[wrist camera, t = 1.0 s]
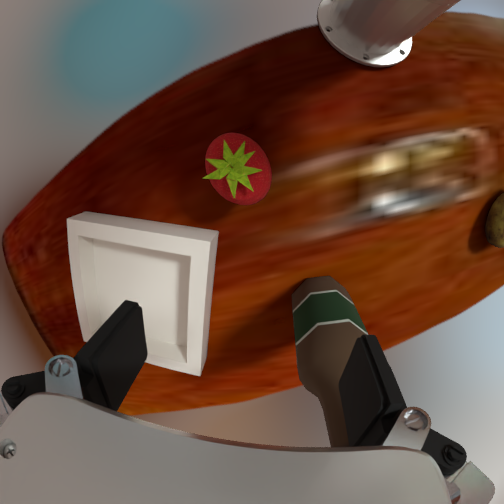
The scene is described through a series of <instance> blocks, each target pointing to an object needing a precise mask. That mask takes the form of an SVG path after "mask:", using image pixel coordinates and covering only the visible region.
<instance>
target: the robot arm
mask: <svg viewBox="0 0 504 504" xmlns="http://www.w3.org/2000/svg"><path fill="white" fill-rule="evenodd" d="M459 1H460V0H322V1H321V3H320V4H319V8H318V12H317V21H318V25H319V28H320V30H321V32H322V34H323V35H324V37H325V39H326V40H327V41H328V42H329V43H330V44H331V46H333V47H334V48H335V49H336V50H337V51H338V52H340V53H341V54H343V55H344V56H346V57H347V58H349V59H351V60H353V61H355V62H358V63H361V64H363V65H367V66H372V67H389V66H393V65H396V64H398V63H399V62H401V61H402V60H404V59H405V58H406V57H407V56H408V54H409V52H410V50H411V46H412V36H414V35H415V34H416V33H417V32H419V31H420V30H421V29H423V28H424V27H425V26H426V25H428V24H429V23H430V22H432V21H433V20H434V19H436V18H437V17H438V16H440V15H441V14H442V13H444V12H445V11H447V10H448V9H449V8H451V7H452V6H453V5H455V4H456V3H457V2H459ZM328 31H329V32H328ZM364 58H365V59H366V60H365V59H364ZM147 355H148V351H147V344H146V337H145V329H144V321H143V312H142V307H141V306H139V304H138V303H137V302H133V301H129V300H125V301H124V302H123V303H122V304H121V305H120V306H119V307H118V308H117V309H116V310H115V311H114V312H113V314H112V315H111V316H110V317H109V318H108V319H107V320H106V321H105V322H104V323H103V325H102V326H101V327H100V328H99V329H98V330H97V331H96V332H95V334H94V335H93V336H92V337H91V338H90V339H89V340H88V341H87V343H86V344H85V345H84V346H83V347H82V348H81V350H80V351H79V352H78V353H77V355H76V356H75V357H74V358H72V357H70V356H67V355H58V356H54V357H53V358H51V359H50V360H49V361H48V362H47V363H46V365H45V371H42V372H36V373H31V374H26V375H21V376H15V377H11V378H9V379H8V380H6V382H4V384H3V386H2V390H1V391H0V504H488V503H489V502H490V501H491V499H492V498H493V495H494V493H495V487H494V484H493V482H492V481H491V480H490V479H489V478H488V477H487V476H486V475H485V474H483V473H482V472H481V471H480V470H479V469H478V468H477V467H476V466H475V465H474V464H473V463H472V462H471V461H470V462H468V463H467V462H466V457H467V456H466V452H465V450H464V448H463V447H462V446H461V445H460V444H458V443H456V442H454V441H452V440H450V439H449V438H447V437H445V436H443V435H441V434H439V433H438V432H436V431H434V430H432V429H431V428H430V426H431V419H430V417H429V415H428V414H427V413H426V412H425V411H424V410H422V409H420V408H417V407H408V408H407V406H406V404H405V401H404V399H403V396H402V394H401V391H400V389H399V386H398V384H397V381H396V379H395V377H394V374H393V372H392V369H391V367H390V366H389V364H388V362H387V360H386V358H385V355H384V353H383V351H382V348H381V346H380V344H379V342H378V340H377V337H376V336H375V335H365V334H363V335H362V336H361V337H358V338H357V340H356V342H355V345H354V347H353V350H352V352H351V354H350V357H349V359H348V362H347V364H346V366H345V369H344V371H343V373H342V375H341V378H340V380H339V386H338V387H339V392H340V397H341V403H342V408H343V413H344V419H345V424H346V430H347V436H348V442H349V446H350V447H324V448H323V447H322V448H321V447H316V448H315V447H286V446H272V445H261V444H252V443H244V442H237V441H230V440H224V439H218V438H213V437H207V436H202V435H197V434H192V433H188V432H184V431H180V430H176V429H171V428H168V427H164V426H161V425H157V424H154V423H150V422H147V421H144V420H140V419H137V418H134V417H131V416H128V415H125V414H122V413H119V412H117V410H118V408H119V407H120V405H121V403H122V401H123V399H124V398H125V396H126V394H127V392H128V391H129V389H130V387H131V385H132V383H133V382H134V380H135V378H136V376H137V375H138V373H139V371H140V369H141V368H142V366H143V364H144V363H145V361H146V359H147Z"/></svg>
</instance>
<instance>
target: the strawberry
mask: <svg viewBox="0 0 504 504" xmlns="http://www.w3.org/2000/svg"><path fill="white" fill-rule="evenodd" d="M205 167H206V172H207V176H205V177H203V178H202V179H209V180H210V182H211V184H212V186H213V187H214V189H215V190H216V191H217V192H218V193H219V194H220V195H221V196H222V197H224V198H225V199H226V200H228V201H230V202H232V203H236V204H239V205H252V204H255V203H257V202H259V201H260V200H262V199H263V198H264V197H265V196H266V194H267V193H268V191H269V189H270V185H271V180H272V173H271V166H270V163H269V160H268V158H267V156H266V154H265V152H264V151H263V149H262V148H261V147H260V146H259V145H258V144H257V143H256V142H255V141H254V140H252V139H251V138H250V137H247V136H245V135H243V134H239V133H225V134H222V135H220V136H218V137H217V138H216V139H214V140H213V141H212V143H211V144H210V145H209V147H208V149H207V152H206V156H205Z"/></svg>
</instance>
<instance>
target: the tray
mask: <svg viewBox="0 0 504 504" xmlns="http://www.w3.org/2000/svg"><path fill="white" fill-rule="evenodd" d="M67 233H68V247H69V258H70V267H71V275H72V283H73V289H74V296H75V302H76V307H77V312H78V317H79V322H80V327H81V331H82V336H83V340H84V341H85V342H87V341H88V340H89V339H90V338H91V337H92V336H93V335H94V334H95V332H96V331H97V330H98V329H99V328H100V327H101V326H102V325H103V323H104V322H105V321H106V320H107V319H108V318H109V317H110V316H111V315H112V314H113V312H114V311H115V310H116V309H117V308H118V307H119V306H120V305H121V304H122V303H123V302H124V301H125V300H129V301H133V302H137V303H138V304H139V306H141V307H142V312H143V321H144V329H145V337H146V344H147V351H148V355H147V359H146V361H145V362H147V363H150V364H154V365H157V366H161V367H165V368H168V369H172V370H176V371H180V372H184V373H188V374H193V375H197V376H201V373H202V370H203V367H204V364H205V361H206V358H207V348H208V335H209V323H210V311H211V300H212V290H213V279H214V269H215V260H216V251H217V242H218V233H219V231H215V230H209V229H202V228H196V227H189V226H183V225H176V224H170V223H163V222H157V221H150V220H143V219H136V218H129V217H122V216H115V215H108V214H101V213H94V212H87V211H86V212H83V213H80V214H78V215H75V216H72V217H70V218H67Z"/></svg>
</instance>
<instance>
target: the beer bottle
mask: <svg viewBox="0 0 504 504" xmlns="http://www.w3.org/2000/svg"><path fill="white" fill-rule="evenodd" d="M292 310H293V322H294V333H295V344H296V356H297V368H298V373H299V379H300V381H301V382H302V384H303V385H304V387H305V388H306V389H307V390H308V391H310V392H311V393H312V394H314V395H315V396H317V397H318V398H319V401H320V403H321V406H322V408H323V411H324V416H325V421H326V426H327V430H328V435H329V440H330V444H331V447H350V446H349V442H348V436H347V430H346V424H345V419H344V413H343V408H342V403H341V397H340V392H339V387H338V386H339V380H340V378H341V375H342V373H343V371H344V369H345V366H346V364H347V362H348V359H349V357H350V354H351V352H352V350H353V347H354V345H355V342H356V340H357V338H358V337H361V336H362V335H363V334H365V335H368V333H367V331H366V329H365V326H364V324H363V322H362V320H361V318H360V316H359V314H358V312H357V310H356V308H355V306H354V304H353V301H352V299H351V297H350V295H349V294H348V292H347V291H346V289H345V288H344V287H343V286H341V285H340V284H339V283H338V282H337V281H335V280H334V279H333V278H332V277H330V276H323V277H314V278H307V279H306V280H305V281H304V282H303V283H302V284H301V285H300V286H299V287H298V288H297V290H296V291H295V292H294V293H293V294H292Z"/></svg>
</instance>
